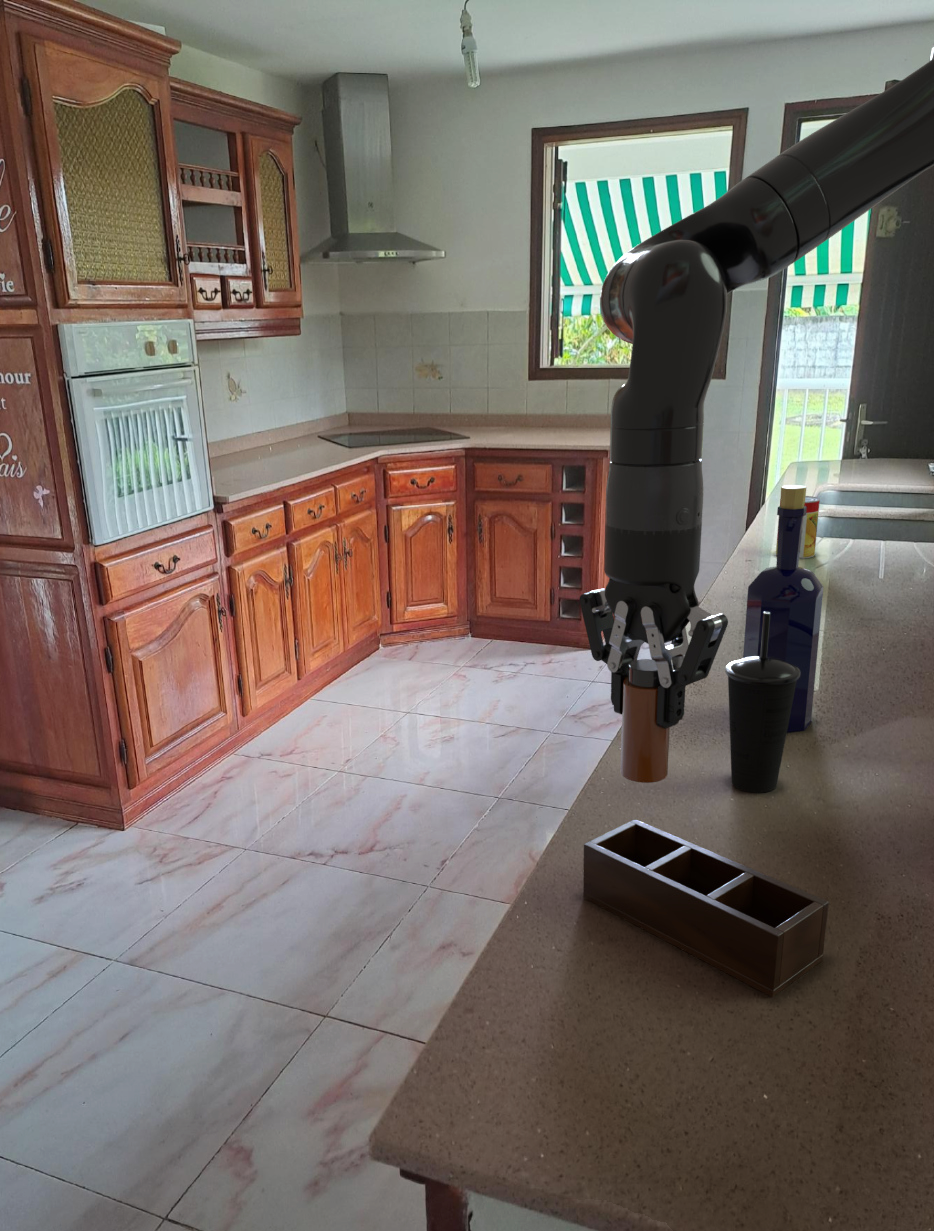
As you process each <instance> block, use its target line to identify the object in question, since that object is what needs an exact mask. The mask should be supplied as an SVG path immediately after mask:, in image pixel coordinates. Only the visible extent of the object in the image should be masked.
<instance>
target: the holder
mask: <svg viewBox="0 0 934 1231" xmlns="http://www.w3.org/2000/svg"><path fill="white" fill-rule="evenodd" d="M582 872H583V873H582V874H583V877H582V878H583V880H582V881H583V882H582V883H583V888H582V890H583V891H582V898H583V899H585V900H587V901H589V902H591V903H592V904H595V905H597V906H598V907H601V908H602V909H604V910H606V911H608V912H610V913H612V914H614V915H615V916H617V917H619V918H621V919H623V920H625V921H627V922H629V923H631V924H632V925H634V926H636V927H638V928H640V929H642V930H644V931H646V932H648V933H650V934H652V935H653V936H655V937H657V938H659V939H661V940H663V941H665V942H667V943H669V944H671V945H672V946H674V947H676V948H678V949H680V950H681V951H684V952H686V953H687V954H689V955H692V956H693V957H695V958H696V959H699V960H701V961H703V962H705V963H707V964H708V965H710V966H712V967H714V968H716V969H718V970H720V971H722V972H724V973H726V974H728V975H729V976H731V977H733V978H735V979H737V980H739V981H741V982H743V983H744V984H746V985H749V986H750V987H752V988H754V989H756V990H758V991H760V992H762V993H764V994H765V995H767V996H769V997H771V998H774V997H775V996H777V995H778V994H779V993H781V992H782V991H783V990H785V989H786V988H787V987H789V986H790V985H792V984H793V983H794V982H795V981H797V980H798V979H799V978H801V977H803V975H805V974H806V973H808V972H809V971H810V970H812V969H813V968H814V967H816V966H817V965H819V964H820V963H821V962H823V960H824V950H825V941H826V930H827V921H828V913H829V904H830V901H828V900H826V899H823V898H821V897H818V896H816V895H814V894H811V893H810V892H807V891H805V890H802V889H800V888H797V887H795V886H793V885H790V884H788V883H786V882H784V881H781V880H779V879H777V878H774V877H772V876H769V875H767V874H765V873H762V872H760V871H758V870H755V869H753V868H751V867H748V866H746V865H744V864H741V863H739V862H737V861H734V860H732V859H730V858H728V857H726V856H725V857H724V856H723V855H720V854H718V853H715V852H713V851H711V850H708V849H706V848H704V847H701V846H699V845H697V844H694V843H692V842H689V841H687V840H685V839H682V838H681V837H678V836H675V835H673V834H671V833H669V832H666V831H664V830H663V829H662V830H661V829H660V828H656V827H654V826H652V825H650V824H647V823H645V822H643V821H640V820H638V819H636V818H635V819H632V820H630V821H628V822H626V823H624V824H622V825H620V826H618V827H616V828H613V829H612V830H610V831H608V832H606V833H604V834H601V835H600V836H598V837H596V838H594V839H592V840H590V841H588V842H585V843H584V844H583V871H582Z"/></svg>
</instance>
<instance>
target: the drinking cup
mask: <svg viewBox="0 0 934 1231" xmlns="http://www.w3.org/2000/svg"><path fill="white" fill-rule="evenodd" d="M769 624H770V612H764V615H763V628H762V641H761V654H760V656H752V657H747V658H743V657H742V658H741V659H737V660H733V661H731V662H729V663H728V664H727V665H726V666H725V669H724V670H725V674H726V676H727V687H728V688H727V689H728V712H729V713H728V714H729V715H728V716H729V720H728V721H729V740H730V741H729V742H730V743H729V744H730V746H729V747H730V749H729V750H730V774H731V776H730V779H731V784H732V786H734V788H735V789H738V790H740V791H743V792H747V793H753V794H755V793H756V794H764V793H769V792H772V791H774V790H775V789H776V788H777V787H778V786H777V785H778V780H779V774H780V770H781V765H782V759H783V755H784V749H785V744H786V739H787V734H788V733H787V729H788V723H789V718H790V713H791V708H792V702H793V697H794V692H795V687H796V681H797V680H798V679H799V677H800V670H799V668H798V667H796V666H795V665H793V664H790V663H787V662H785V661H783V660H781V659H778V658H774V657H769V656H767V650H768V637H769Z"/></svg>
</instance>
